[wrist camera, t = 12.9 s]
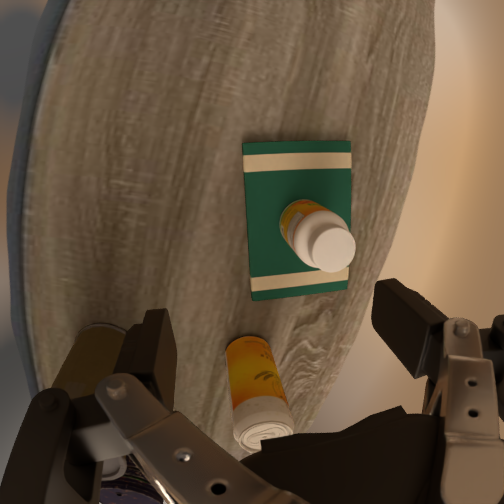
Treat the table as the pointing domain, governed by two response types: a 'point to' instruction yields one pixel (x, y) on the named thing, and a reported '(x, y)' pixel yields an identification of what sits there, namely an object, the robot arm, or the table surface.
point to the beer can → (255, 394)
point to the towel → (278, 198)
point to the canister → (93, 373)
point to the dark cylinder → (129, 488)
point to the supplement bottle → (317, 235)
